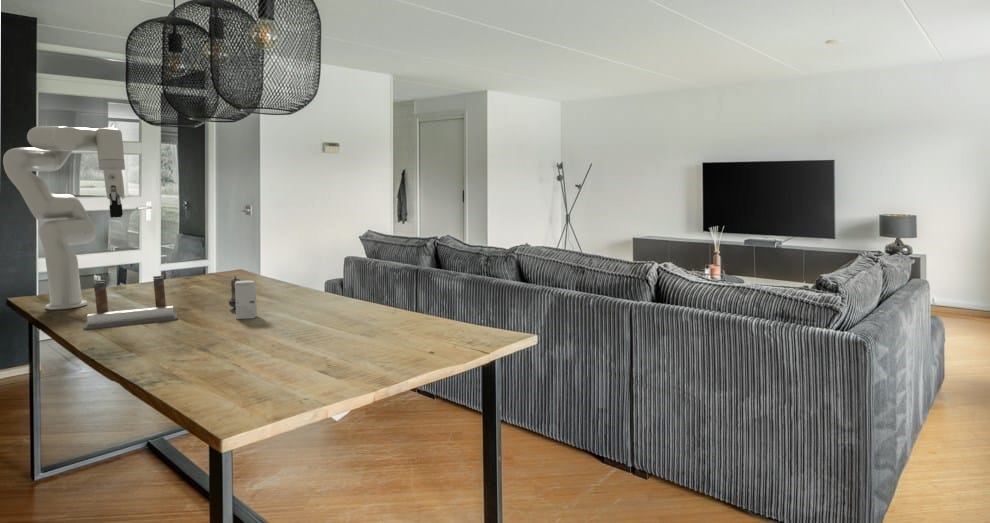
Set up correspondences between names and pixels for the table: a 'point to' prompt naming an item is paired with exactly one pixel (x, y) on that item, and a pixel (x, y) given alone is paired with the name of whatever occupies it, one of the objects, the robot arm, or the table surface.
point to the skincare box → (245, 299)
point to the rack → (159, 299)
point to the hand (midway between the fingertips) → (116, 216)
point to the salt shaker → (233, 295)
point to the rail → (130, 315)
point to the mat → (130, 322)
